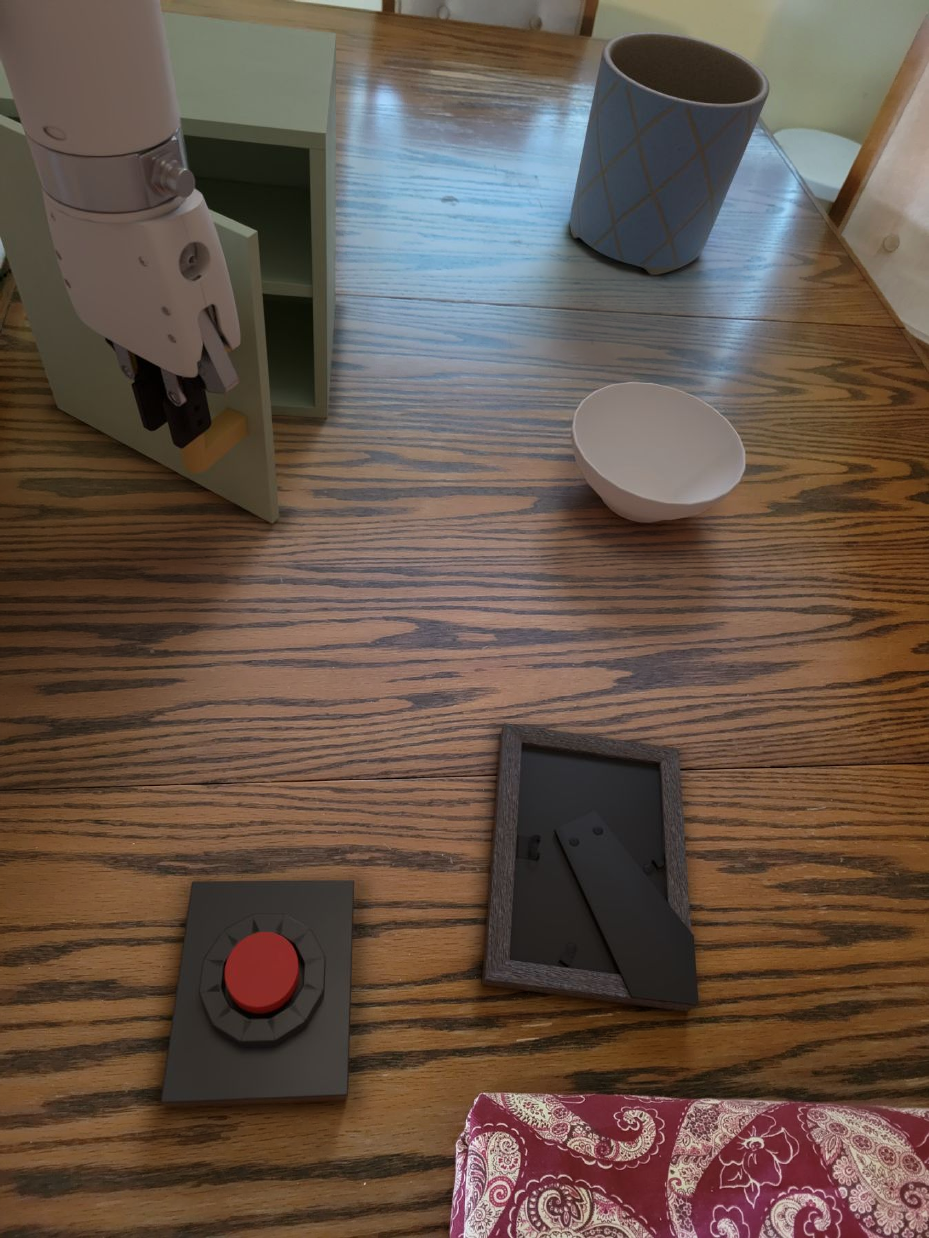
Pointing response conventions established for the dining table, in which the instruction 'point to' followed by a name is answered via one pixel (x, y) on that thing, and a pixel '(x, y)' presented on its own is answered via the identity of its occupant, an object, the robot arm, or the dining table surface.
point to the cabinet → (266, 176)
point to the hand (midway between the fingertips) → (178, 426)
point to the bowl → (655, 451)
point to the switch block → (272, 1042)
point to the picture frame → (589, 871)
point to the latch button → (262, 972)
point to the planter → (663, 146)
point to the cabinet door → (88, 366)
